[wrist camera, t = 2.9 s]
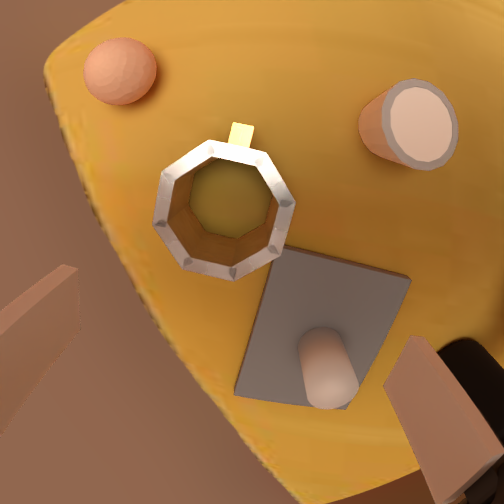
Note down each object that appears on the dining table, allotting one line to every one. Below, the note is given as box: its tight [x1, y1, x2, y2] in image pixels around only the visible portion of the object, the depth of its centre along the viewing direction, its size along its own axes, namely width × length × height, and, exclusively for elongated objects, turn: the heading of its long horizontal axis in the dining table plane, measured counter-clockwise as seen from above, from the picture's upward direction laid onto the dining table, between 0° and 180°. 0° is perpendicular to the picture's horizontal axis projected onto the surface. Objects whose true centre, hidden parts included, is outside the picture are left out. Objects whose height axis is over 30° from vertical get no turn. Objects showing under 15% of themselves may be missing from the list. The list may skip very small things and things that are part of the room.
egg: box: [84, 38, 157, 105], centre depth 20 cm, size 6×6×8 cm
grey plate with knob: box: [234, 245, 412, 410], centre depth 27 cm, size 18×14×8 cm
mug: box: [152, 122, 296, 281], centre depth 23 cm, size 10×9×7 cm
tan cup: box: [359, 78, 458, 171], centre depth 21 cm, size 7×7×7 cm
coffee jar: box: [438, 340, 504, 445], centre depth 25 cm, size 11×11×18 cm
